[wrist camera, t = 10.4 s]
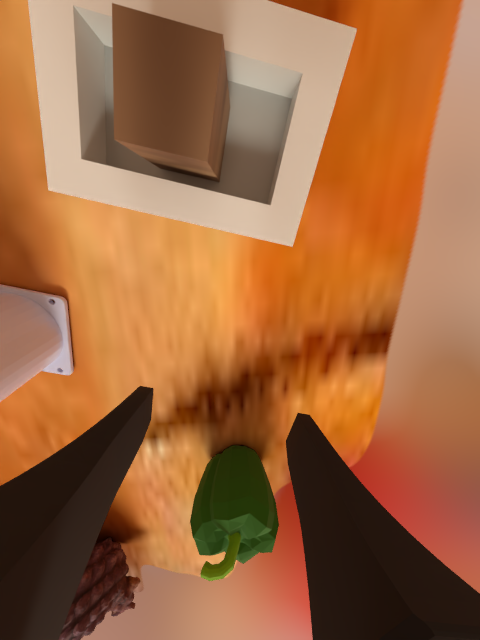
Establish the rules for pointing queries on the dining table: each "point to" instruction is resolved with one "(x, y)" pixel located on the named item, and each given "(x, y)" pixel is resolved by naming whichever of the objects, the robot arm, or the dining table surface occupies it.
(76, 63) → the well trough
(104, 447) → the robot arm
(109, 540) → the pine cone
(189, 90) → the bracket block
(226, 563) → the bell pepper
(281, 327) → the dining table surface
